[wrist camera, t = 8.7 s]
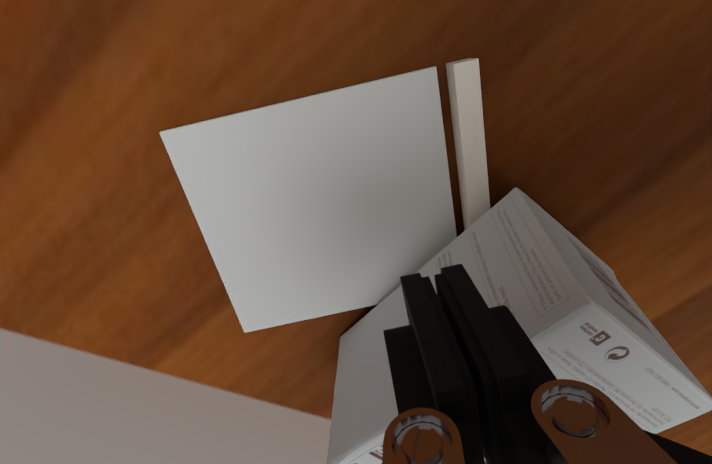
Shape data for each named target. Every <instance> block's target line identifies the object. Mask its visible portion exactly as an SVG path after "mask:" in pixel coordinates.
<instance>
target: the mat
mask: <svg viewBox="0 0 712 464" xmlns="http://www.w3.org/2000/svg"><path fill="white" fill-rule="evenodd" d="M159 133H160V135H161V138H162V140H163V142H164V145H165V147H166V150H167V152H168V154H169V157H170V159H171V161H172V164H173V166H174V168H175V171H176V173H177V175H178V178H179V180H180V182H181V185H182V187H183V189H184V192H185V194H186V197H187V199H188V201H189V204H190V206H191V208H192V211H193V213H194V215H195V218H196V220H197V222H198V225H199V227H200V229H201V232H202V234H203V236H204V239H205V241H206V243H207V246H208V248H209V251H210V253H211V255H212V258H213V260H214V262H215V265H216V267H217V269H218V272H219V274H220V276H221V279H222V281H223V283H224V286H225V288H226V290H227V293H228V295H229V298H230V300H231V302H232V305H233V307H234V309H235V312H236V314H237V316H238V319H239V321H240V323H241V326H242V328H243V330H244V333H246V332H251V331H256V330H260V329H265V328H270V327H275V326H279V325H284V324H289V323H293V322H298V321H303V320H307V319H312V318H317V317H322V316H326V315H331V314H336V313H340V312H345V311H350V310H354V309H359V308H364V307H369V306H373V305H378V304H379V303H381V302H382V301H383V300H384V299H385V298H386V297H388V296H389V295H390V294H391V293H392V292H394V291H395V290H396V289H397V288H398V287H399V286H401V281H400V277H401V276H406V275H410V274H415V273H416V272H417V271H418V270H419V269H420V268H422V267H423V266H424V265H425V264H426V263H428V262H429V261H430V260H431V259H432V258H433V257H435V256H436V255H437V254H438V253H439V252H440V251H442V250H443V249H444V248H445V247H446V246H448V245H449V244H450V243H451V242H452V241H453V240H454V239H456V238H457V234H456V226H455V217H454V209H453V201H452V193H451V185H450V176H449V168H448V160H447V152H446V143H445V135H444V127H443V119H442V110H441V102H440V94H439V86H438V77H437V69H436V66H433V67H429V68H424V69H420V70H416V71H412V72H408V73H403V74H399V75H395V76H391V77H386V78H382V79H378V80H374V81H370V82H365V83H361V84H357V85H353V86H348V87H344V88H340V89H336V90H332V91H327V92H323V93H319V94H315V95H311V96H306V97H302V98H298V99H294V100H289V101H285V102H281V103H277V104H273V105H268V106H264V107H260V108H256V109H251V110H247V111H243V112H239V113H235V114H230V115H226V116H222V117H218V118H214V119H209V120H205V121H201V122H197V123H192V124H188V125H184V126H180V127H176V128H171V129H167V130H163V131H161V132H159Z"/></svg>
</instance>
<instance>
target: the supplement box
mask: <svg viewBox="0 0 712 464" xmlns="http://www.w3.org/2000/svg"><path fill="white" fill-rule="evenodd" d="M457 264H462V265H463V266H464V268H465V270H466V271H467V273H468V275H469V276H470V278H471V279H472V281H473V283H474V284H475V286H476V288H477V289H478V291H479V293H480V294H481V296H482V297H483V299H484V301H485V302H486V304H487V306H488V307H489V308H491V307H496V306H501V305H505V306H507V308H508V309H509V310H510V311H511V313H512V314H513V316H514V317H515V319H516V320H517V322H518V323H519V325H520V326H521V327H522V329H523V330H524V332H525V333H526V335H527V336H528V338H529V339H530V341H531V342H532V343H533V345H534V346H535V348H536V349H537V351H538V352H539V354H540V355H541V357H542V358H543V359H544V361H545V362H546V364H547V365H548V367H549V368H550V370H551V371H552V373H553V374H554V375H555V377H556V378H557V379H571V380H576V381H580V382H584V383H587V384H589V385H591V386H593V387H595V388H597V389H599V390H600V391H602V392H603V393H604V394H606V395H607V396H608V397H609V398H610V399H611V400H612V401H613V402H614V403H616V404H617V405H618V406H619V407H620V408H621V409H622V410H623V411H624V412H625V413H626V414H627V415H628V416H629V417H630V418H631V419H632V420H633V421H634V422H635V423H636V424H637V425H638V426H639V427H640V428H641V429H643V430H645V431H648V432H651V433H653V434H657V433H659V432H661V431H664V430H666V429H669V428H671V427H674V426H676V425H678V424H681V423H683V422H686V421H688V420H690V419H693V418H695V417H697V416H700V415H702V414H704V413H706V412H709V411H710V410H712V397H711V396H710V394H709V393H708V392H707V391H706V389H705V388H704V387H703V386H702V385H701V384H700V382H699V381H698V380H697V379H696V378H695V377H694V375H693V374H692V373H691V372H690V371H689V369H688V368H687V367H686V366H685V365H684V363H683V362H682V361H681V360H680V358H679V357H678V356H677V355H676V353H675V352H674V351H673V350H672V348H671V347H670V346H669V345H668V343H667V342H666V341H665V340H664V338H663V337H662V336H661V335H660V333H659V332H658V331H657V330H656V328H655V327H654V326H653V325H652V323H651V322H650V321H649V320H648V318H647V317H646V316H645V315H644V313H643V312H642V311H641V310H640V308H639V307H638V306H637V305H636V303H635V302H634V301H633V300H632V298H631V297H630V296H629V295H628V293H627V292H626V291H625V290H624V288H623V287H622V286H621V285H620V284H619V282H618V280H617V279H616V277H615V274H614V272H613V271H612V269H611V268H610V267H609V266H607V265H606V264H605V263H604V262H603V261H602V260H601V259H600V258H598V257H597V256H596V255H595V254H594V253H593V252H592V251H590V250H589V249H588V248H587V247H586V246H585V245H584V244H583V243H582V242H580V241H579V240H578V239H577V238H576V237H575V236H574V235H572V234H571V233H570V232H569V231H568V230H566V229H565V228H564V227H563V226H562V225H561V224H560V223H559V222H557V221H556V220H555V219H554V218H553V217H552V216H550V215H549V214H548V213H547V212H546V211H545V210H543V209H542V208H541V207H540V206H539V205H538V204H537V203H536V202H534V201H533V200H532V199H531V198H530V197H528V196H527V195H526V194H525V193H524V192H522V191H521V190H520V189H519V188H513V189H512V191H511V192H510V193H508V194H507V195H506V196H505V197H504V198H503V199H501V200H500V201H499V202H498V203H497V204H496V205H494V206H493V207H492V208H491V209H490V210H489V211H487V212H486V213H485V214H484V215H482V216H481V217H480V218H479V219H478V220H477V221H475V222H474V223H473V224H472V225H471V226H470V227H468V228H467V229H466V230H465V231H464V232H463V233H462V234H460V235H459V236H458V237H457V238H456V239H454V240H453V241H452V242H451V243H450V244H449V245H448V246H446V247H445V248H444V249H443V250H442V251H440V252H439V253H438V254H437V255H436V256H435V257H433V258H432V259H431V260H430V261H429V262H428V263H426V264H425V265H424V266H423V267H422V268H420V269H419V270H418V271H417V272H416V273H420V274H421V277H427V276H429V278H430V280H431V282H432V285H433V287H434V289H435V292H436V294H437V291H436V285H435V278H434V275H436V274H440V273H441V268H443V267H447V266H452V265H457ZM406 325H409V321H408V316H407V311H406V306H405V301H404V296H403V291H402V286H399V287H398V288H397V289H396V290H395V291H394V292H392V293H391V294H390V295H389V296H388V297H386V298H385V299H384V300H383V301H382V302H381V303H379V304H378V305H377V306H376V307H375V308H374V309H372V310H371V311H370V312H369V313H368V314H367V315H365V316H364V317H363V318H362V319H361V320H359V321H358V322H357V323H356V324H355V325H354V326H353V327H351V328H350V329H349V330H348V331H347V332H345V333H344V334H343V335H342V336H341V337H340V345H339V354H338V364H337V373H336V382H335V388H334V401H333V411H332V420H331V429H330V439H329V447H328V456H327V464H382V457H383V440H384V435H385V431H386V429H387V427H388V426H389V424H390V422H391V421H392V420H393V419H394V418H395V417H397V416H398V410H397V404H396V399H395V393H394V388H393V382H392V377H391V371H390V366H389V360H388V355H387V349H386V344H385V338H384V332H383V330H387V329H392V328H397V327H401V326H406ZM484 460H485V457H484ZM485 464H487V463H486V460H485Z"/></svg>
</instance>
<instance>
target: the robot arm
mask: <svg viewBox="0 0 712 464" xmlns="http://www.w3.org/2000/svg"><path fill="white" fill-rule="evenodd" d="M434 278H435V285H436V291H437V294H436V292H435V289H434V287H433V285H432V282H431V280H430V278H429V276H427V277H421V274H420V273H415V274H410V275H406V276H401V277H400V281H401V286H402V291H403V296H404V301H405V306H406V311H407V316H408V321H409V325H406V326H401V327H397V328H392V329H387V330H383V332H384V338H385V344H386V349H387V355H388V360H389V366H390V371H391V377H392V382H393V388H394V393H395V399H396V404H397V410H398V416H397V417H395V418H394V419H393V420H392V421H391V422H390V424H389V426H388V427H387V429H386V431H385V435H384V440H383V457H382V464H485V460H486V463H487V464H712V456H709V455H707V454H704V453H702V452H699V451H697V450H694V449H691V448H689V447H686V446H684V445H681V444H679V443H676V442H674V441H671V440H668V439H666V438H663V437H661V436H658V435H656V434H653V433H651V432H648V431H645V430H643V429H641V428H640V427H639V426H638V425H637V424H636V423H635V422H634V421H633V420H632V419H631V418H630V417H629V416H628V415H627V414H626V413H625V412H624V411H623V410H622V409H621V408H620V407H619V406H618V405H617V404H616V403H614V402H613V401H612V400H611V399H610V398H609V397H608V396H607V395H606V394H604V393H603V392H602V391H600V390H599V389H597V388H595V387H593V386H591V385H589V384H587V383H584V382H580V381H576V380H571V379H557V378H556V377H555V375H554V374H553V373H552V371H551V370H550V368H549V367H548V365H547V364H546V362H545V361H544V359H543V358H542V357H541V355H540V354H539V352H538V351H537V349H536V348H535V346H534V345H533V343H532V342H531V341H530V339H529V338H528V336H527V335H526V333H525V332H524V330H523V329H522V327H521V326H520V325H519V323H518V322H517V320H516V319H515V317H514V316H513V314H512V313H511V311H510V310H509V309H508V308H507V306H505V305H501V306H496V307H491V308H489V307H488V306H487V304H486V302H485V301H484V299H483V297H482V296H481V294H480V293H479V291H478V289H477V288H476V286H475V284H474V283H473V281H472V279H471V278H470V276H469V275H468V273H467V271H466V270H465V268H464V266H463V265H462V264H457V265H452V266H447V267H443V268H441V273H440V274H436V275H434ZM484 457H485V460H484Z"/></svg>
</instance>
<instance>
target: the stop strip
mask: <svg viewBox="0 0 712 464" xmlns="http://www.w3.org/2000/svg"><path fill="white" fill-rule="evenodd" d="M446 72H447V81H448V90H449V99H450V108H451V117H452V125H453V134H454V143H455V152H456V161H457V170H458V179H459V188H460V197H461V206H462V215H463V224H464V231H465V230H466V229H467V228H468V227H470V226H471V225H472V224H473V223H474V222H475V221H477V220H478V219H479V218H480V217H481V216H482V215H484V214H485V213H486V212H487V211H489V210H490V198H489V185H488V173H487V160H486V147H485V134H484V122H483V109H482V96H481V84H480V71H479V58H467V59H462V60H458V61H454V62H450V63H446Z"/></svg>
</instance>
